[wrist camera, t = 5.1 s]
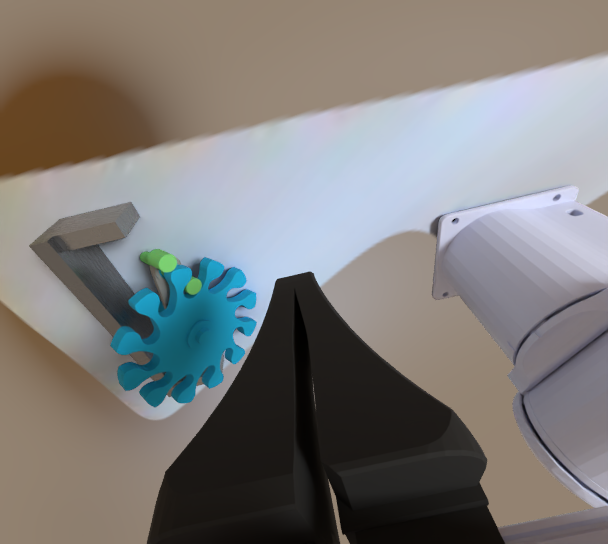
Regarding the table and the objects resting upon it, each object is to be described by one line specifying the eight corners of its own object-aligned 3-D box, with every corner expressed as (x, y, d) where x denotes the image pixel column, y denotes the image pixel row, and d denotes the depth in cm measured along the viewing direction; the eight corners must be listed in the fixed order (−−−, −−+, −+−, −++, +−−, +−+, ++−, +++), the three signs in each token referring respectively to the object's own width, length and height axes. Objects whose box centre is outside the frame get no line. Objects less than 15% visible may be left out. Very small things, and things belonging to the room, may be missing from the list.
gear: (270, 348, 25) (157, 445, 18) (226, 323, 28) (117, 396, 22) (248, 224, 19) (76, 298, 13) (197, 211, 23) (40, 264, 16)
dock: (130, 201, 18) (111, 226, 15) (224, 356, 27) (220, 385, 25) (59, 219, 18) (29, 245, 16) (176, 366, 27) (168, 397, 25)
